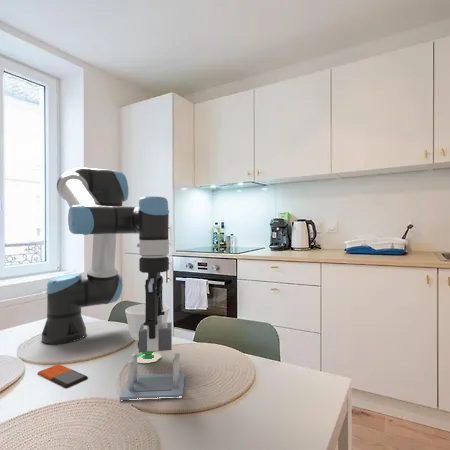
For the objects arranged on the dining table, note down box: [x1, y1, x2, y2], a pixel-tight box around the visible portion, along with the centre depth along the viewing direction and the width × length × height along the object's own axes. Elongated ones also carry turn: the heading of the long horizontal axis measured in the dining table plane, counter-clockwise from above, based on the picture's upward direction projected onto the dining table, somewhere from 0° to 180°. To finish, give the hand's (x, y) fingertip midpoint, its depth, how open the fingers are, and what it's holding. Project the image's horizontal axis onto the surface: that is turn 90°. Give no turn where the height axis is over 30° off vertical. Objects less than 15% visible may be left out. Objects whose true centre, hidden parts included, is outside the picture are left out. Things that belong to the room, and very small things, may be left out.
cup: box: [124, 303, 170, 359], centre depth 100 cm, size 14×14×16 cm
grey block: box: [137, 322, 173, 354], centre depth 81 cm, size 6×8×6 cm
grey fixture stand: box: [119, 351, 186, 402], centre depth 81 cm, size 11×15×8 cm
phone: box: [37, 363, 89, 389], centre depth 88 cm, size 6×1×15 cm
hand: (154, 345), depth 81 cm, fingers closed on grey block, 6 cm apart
